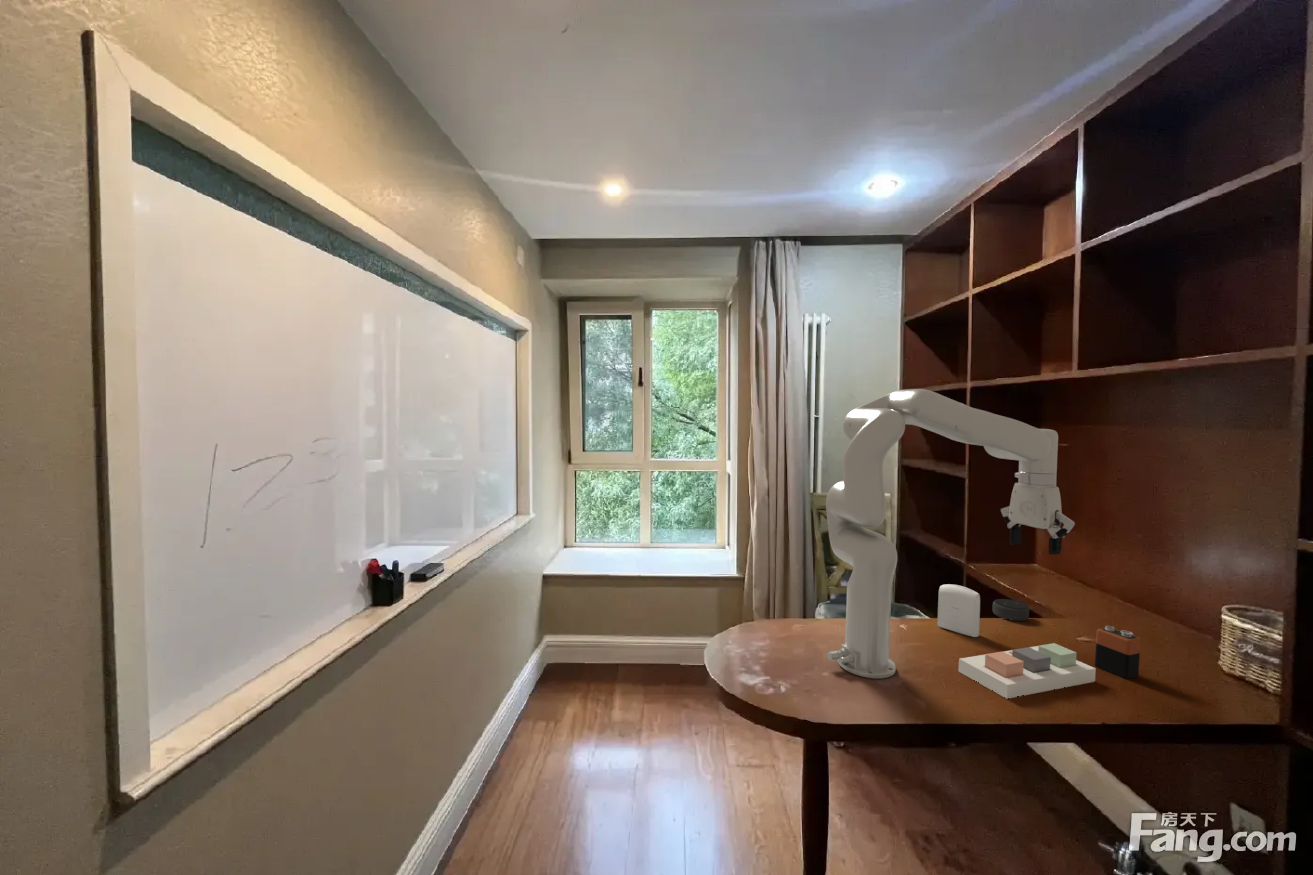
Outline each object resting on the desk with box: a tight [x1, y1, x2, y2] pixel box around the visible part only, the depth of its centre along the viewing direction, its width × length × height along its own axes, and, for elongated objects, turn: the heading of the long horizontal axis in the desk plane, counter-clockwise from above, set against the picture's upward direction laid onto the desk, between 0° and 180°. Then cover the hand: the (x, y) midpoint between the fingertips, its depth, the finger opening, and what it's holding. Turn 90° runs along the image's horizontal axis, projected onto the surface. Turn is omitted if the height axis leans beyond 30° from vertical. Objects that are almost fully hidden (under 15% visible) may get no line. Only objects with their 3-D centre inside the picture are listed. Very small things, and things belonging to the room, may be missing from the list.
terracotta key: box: [984, 650, 1024, 678], centre depth 117 cm, size 5×5×3 cm
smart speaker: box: [992, 598, 1030, 622], centre depth 156 cm, size 9×9×4 cm
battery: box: [1094, 625, 1142, 680], centre depth 123 cm, size 4×7×10 cm, turn 20°
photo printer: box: [937, 583, 981, 638], centre depth 145 cm, size 10×4×12 cm, turn 39°
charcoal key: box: [1011, 646, 1051, 673], centre depth 119 cm, size 5×5×3 cm
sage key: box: [1037, 642, 1078, 668], centre depth 122 cm, size 5×5×3 cm
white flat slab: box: [958, 645, 1097, 699], centre depth 120 cm, size 26×12×3 cm, turn 107°
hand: (1034, 548), depth 130 cm, fingers open, 9 cm apart
